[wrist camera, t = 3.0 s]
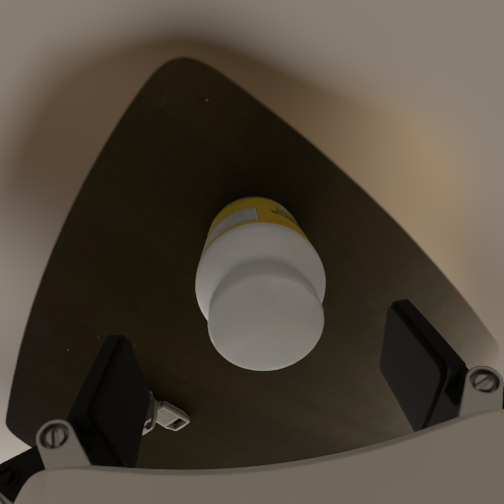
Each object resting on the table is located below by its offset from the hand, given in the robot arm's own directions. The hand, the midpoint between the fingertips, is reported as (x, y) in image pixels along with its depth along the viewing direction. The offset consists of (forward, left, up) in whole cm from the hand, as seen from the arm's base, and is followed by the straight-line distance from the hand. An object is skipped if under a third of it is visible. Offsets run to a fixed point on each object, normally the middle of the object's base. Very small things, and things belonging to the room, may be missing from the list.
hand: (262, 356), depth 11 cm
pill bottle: (0, 0, -14) cm, 14 cm away
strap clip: (+12, +16, -14) cm, 24 cm away
